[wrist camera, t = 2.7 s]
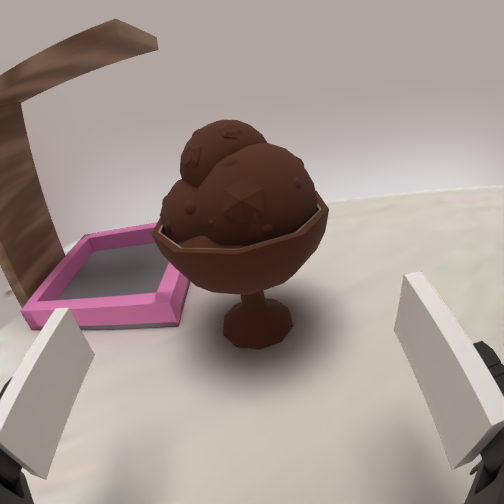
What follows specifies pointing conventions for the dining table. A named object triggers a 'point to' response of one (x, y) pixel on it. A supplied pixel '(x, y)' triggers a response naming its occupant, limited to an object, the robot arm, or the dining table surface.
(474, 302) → the dining table surface
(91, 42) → the display shelf
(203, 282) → the ice cream bowl
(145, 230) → the seat plate
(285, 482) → the dining table surface
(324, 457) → the dining table surface
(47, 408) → the robot arm
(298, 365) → the dining table surface
